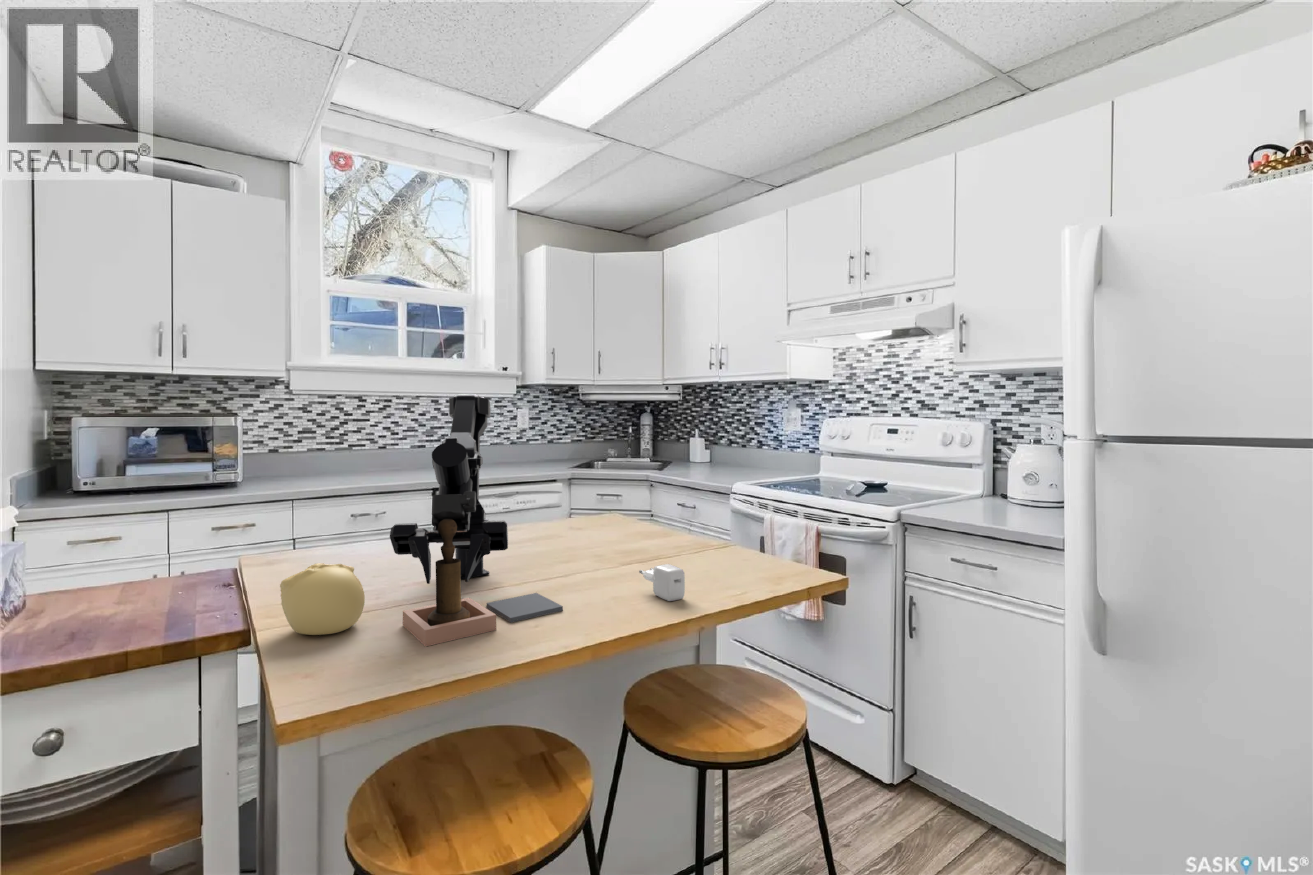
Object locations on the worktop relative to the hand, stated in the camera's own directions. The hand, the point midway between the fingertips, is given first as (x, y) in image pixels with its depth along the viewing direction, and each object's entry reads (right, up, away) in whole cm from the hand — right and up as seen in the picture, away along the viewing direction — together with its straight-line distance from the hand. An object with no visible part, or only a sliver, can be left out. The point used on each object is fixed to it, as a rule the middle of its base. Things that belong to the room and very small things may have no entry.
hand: (447, 581), depth 102 cm
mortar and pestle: (0, -8, +2) cm, 8 cm away
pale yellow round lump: (-20, -8, +1) cm, 22 cm away
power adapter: (+35, -7, +20) cm, 41 cm away
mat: (+10, -8, +11) cm, 17 cm away
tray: (0, -8, +2) cm, 8 cm away
